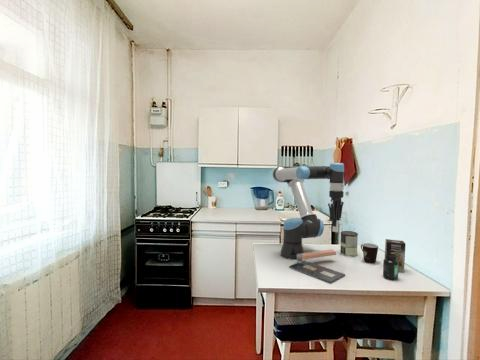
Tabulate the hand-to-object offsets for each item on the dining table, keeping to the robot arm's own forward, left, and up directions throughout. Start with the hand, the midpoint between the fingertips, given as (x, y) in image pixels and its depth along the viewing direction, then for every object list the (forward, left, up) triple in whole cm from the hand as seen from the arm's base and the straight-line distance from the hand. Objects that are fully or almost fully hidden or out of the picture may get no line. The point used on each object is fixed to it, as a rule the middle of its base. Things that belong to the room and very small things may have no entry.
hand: (335, 231), depth 152 cm
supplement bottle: (+27, +8, -20) cm, 35 cm away
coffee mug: (+9, +24, -20) cm, 33 cm away
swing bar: (-10, -4, -16) cm, 19 cm away
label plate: (-2, -15, -20) cm, 25 cm away
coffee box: (+24, +21, -20) cm, 38 cm away
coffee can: (-5, +26, -20) cm, 34 cm away
